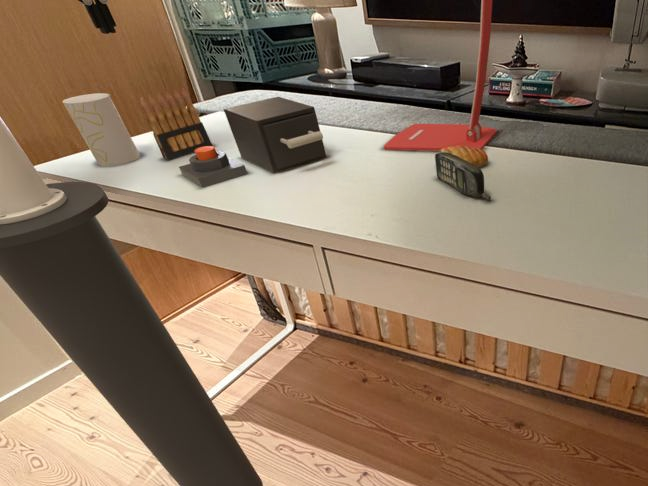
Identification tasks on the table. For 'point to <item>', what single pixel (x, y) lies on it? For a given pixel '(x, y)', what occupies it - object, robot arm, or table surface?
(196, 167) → the control block
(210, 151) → the button
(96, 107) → the white patterned cylinder
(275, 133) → the drawer
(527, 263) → the table surface
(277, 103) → the cabinet
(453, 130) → the desk lamp
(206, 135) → the ammunition clip
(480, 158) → the pastry
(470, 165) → the mobile phone
